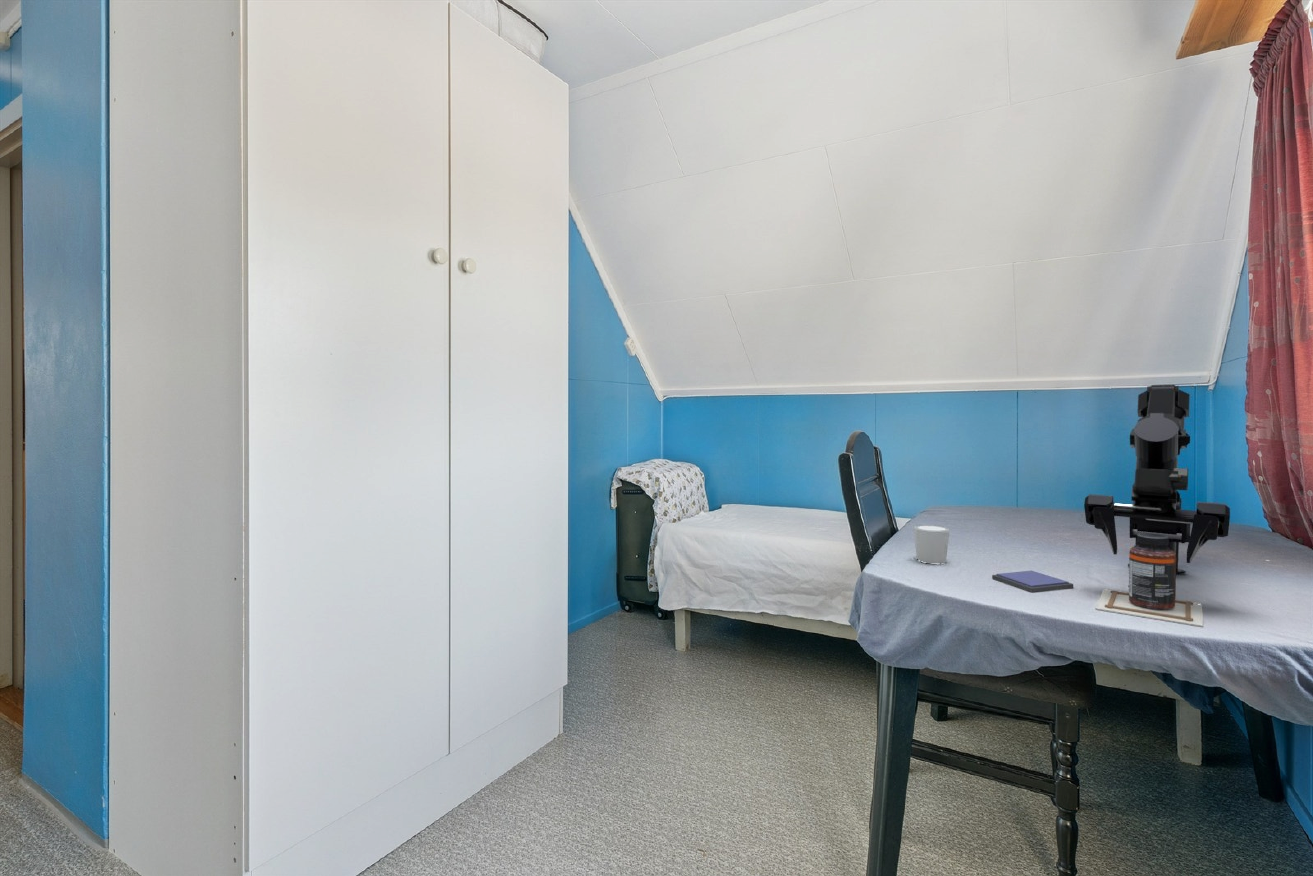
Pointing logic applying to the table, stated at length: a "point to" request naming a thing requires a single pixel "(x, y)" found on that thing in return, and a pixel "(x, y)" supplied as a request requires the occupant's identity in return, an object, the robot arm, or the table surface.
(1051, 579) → the ink pad
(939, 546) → the white short cylinder
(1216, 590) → the table surface
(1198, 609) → the marked sheet
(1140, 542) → the supplement bottle
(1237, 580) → the table surface
